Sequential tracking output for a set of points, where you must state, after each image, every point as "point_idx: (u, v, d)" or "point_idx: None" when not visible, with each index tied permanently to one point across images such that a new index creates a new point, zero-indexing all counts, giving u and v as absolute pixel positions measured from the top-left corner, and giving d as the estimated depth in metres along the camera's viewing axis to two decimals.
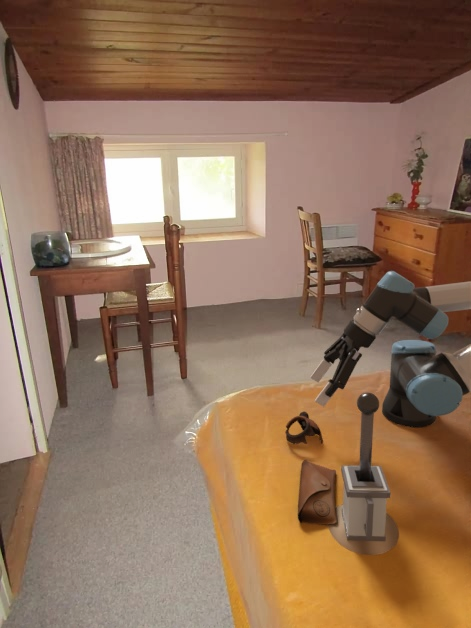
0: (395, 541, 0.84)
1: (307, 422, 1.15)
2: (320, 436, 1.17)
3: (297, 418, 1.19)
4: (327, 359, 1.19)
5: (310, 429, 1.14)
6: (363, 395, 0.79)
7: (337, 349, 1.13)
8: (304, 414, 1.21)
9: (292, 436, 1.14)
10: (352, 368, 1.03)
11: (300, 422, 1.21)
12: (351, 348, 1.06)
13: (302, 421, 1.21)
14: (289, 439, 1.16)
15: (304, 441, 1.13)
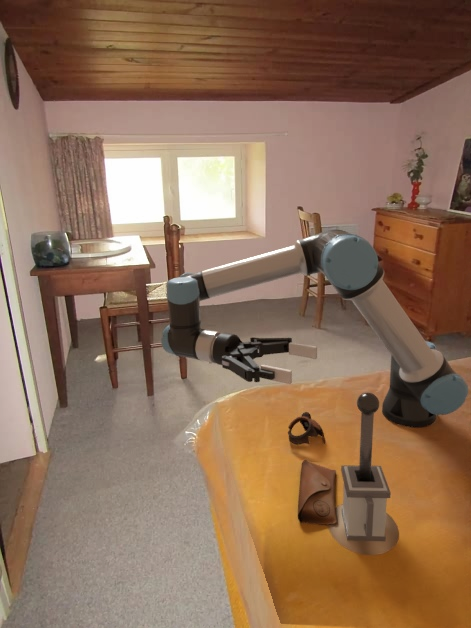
0: (395, 541, 0.84)
1: (310, 423, 1.15)
2: (323, 437, 1.17)
3: (299, 419, 1.18)
4: (288, 348, 0.99)
5: (313, 430, 1.14)
6: (363, 395, 0.79)
7: (260, 355, 0.98)
8: (306, 415, 1.21)
9: (295, 436, 1.14)
10: (233, 363, 0.89)
11: (302, 423, 1.21)
12: None
13: (304, 422, 1.21)
14: (292, 440, 1.15)
15: (307, 442, 1.13)
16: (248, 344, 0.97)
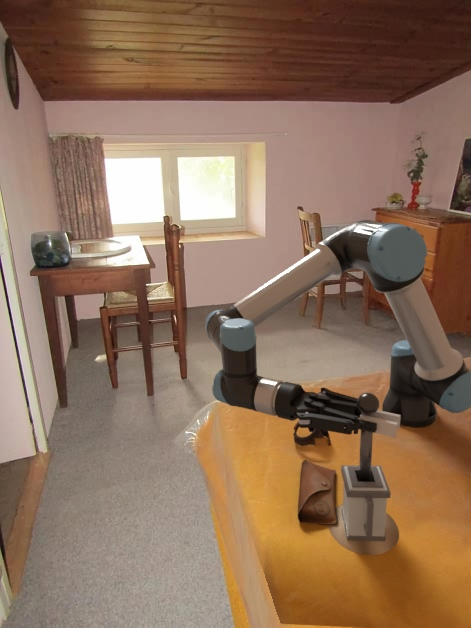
0: (395, 541, 0.84)
1: None
2: (328, 438, 1.16)
3: None
4: None
5: (318, 431, 1.13)
6: (363, 395, 0.79)
7: None
8: None
9: (301, 438, 1.13)
10: (320, 420, 0.80)
11: None
12: None
13: None
14: (297, 441, 1.15)
15: (313, 443, 1.12)
16: (313, 397, 0.86)
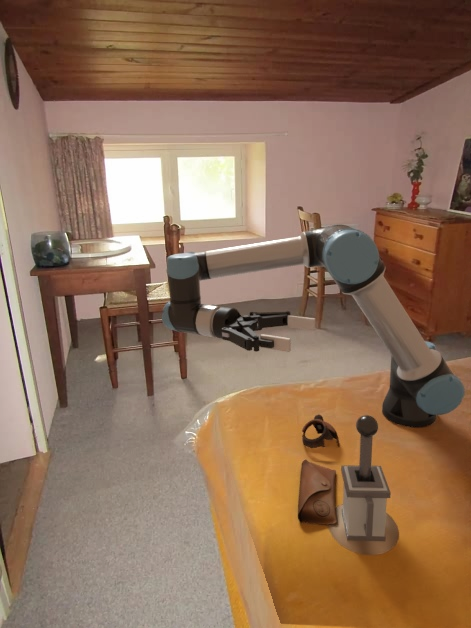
0: (395, 541, 0.84)
1: (324, 425, 1.13)
2: (337, 439, 1.15)
3: (313, 422, 1.16)
4: (287, 321, 1.00)
5: (328, 432, 1.12)
6: (362, 418, 0.81)
7: (259, 328, 1.00)
8: (319, 417, 1.19)
9: (310, 440, 1.12)
10: (233, 334, 0.91)
11: (315, 425, 1.19)
12: None
13: (317, 424, 1.19)
14: (306, 443, 1.14)
15: (322, 445, 1.11)
16: (247, 317, 0.99)
